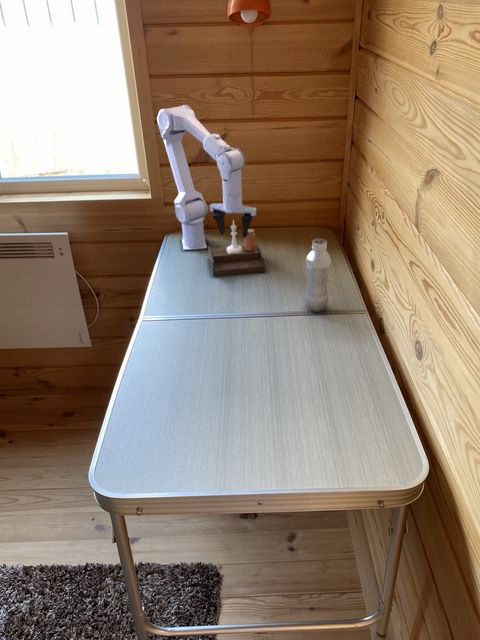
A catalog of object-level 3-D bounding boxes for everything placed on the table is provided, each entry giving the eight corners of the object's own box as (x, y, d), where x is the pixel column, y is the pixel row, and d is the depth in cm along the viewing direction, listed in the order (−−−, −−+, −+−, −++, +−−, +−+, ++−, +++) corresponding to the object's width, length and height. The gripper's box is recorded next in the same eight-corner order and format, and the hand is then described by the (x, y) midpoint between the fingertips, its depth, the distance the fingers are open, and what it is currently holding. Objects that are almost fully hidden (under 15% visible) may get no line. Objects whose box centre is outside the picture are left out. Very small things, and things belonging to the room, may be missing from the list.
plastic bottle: (326, 315, 141) (331, 247, 129) (302, 313, 142) (305, 245, 130) (328, 304, 146) (334, 237, 134) (305, 301, 147) (308, 235, 135)
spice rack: (209, 260, 170) (208, 246, 167) (257, 256, 172) (257, 242, 169) (213, 276, 160) (212, 261, 157) (264, 272, 162) (264, 257, 160)
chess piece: (242, 246, 168) (241, 217, 162) (242, 253, 164) (241, 223, 158) (227, 247, 168) (225, 217, 162) (226, 253, 164) (225, 223, 158)
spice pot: (243, 247, 168) (243, 229, 165) (254, 246, 169) (254, 228, 165) (245, 251, 165) (244, 232, 162) (256, 250, 166) (256, 232, 162)
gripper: (204, 194, 154) (207, 237, 162) (250, 198, 150) (251, 242, 158) (213, 187, 160) (216, 228, 167) (258, 191, 156) (258, 233, 164)
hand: (233, 235), depth 163 cm, fingers open, 7 cm apart
